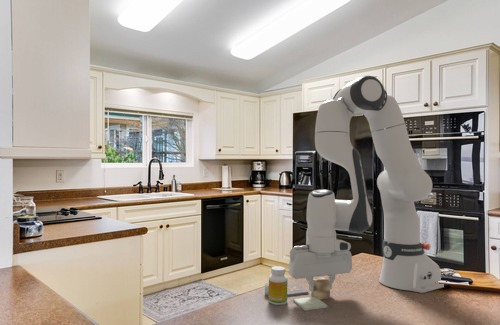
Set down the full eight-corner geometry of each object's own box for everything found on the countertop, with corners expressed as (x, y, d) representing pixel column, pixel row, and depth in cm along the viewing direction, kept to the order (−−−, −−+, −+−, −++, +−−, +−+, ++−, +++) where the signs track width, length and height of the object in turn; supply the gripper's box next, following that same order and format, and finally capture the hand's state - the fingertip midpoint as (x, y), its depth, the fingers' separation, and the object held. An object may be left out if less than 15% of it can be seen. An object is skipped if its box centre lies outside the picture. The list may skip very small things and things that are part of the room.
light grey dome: (277, 290, 112) (277, 281, 112) (284, 296, 107) (284, 286, 107) (262, 292, 110) (262, 282, 110) (268, 298, 105) (268, 288, 105)
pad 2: (314, 298, 105) (314, 296, 105) (327, 307, 99) (327, 305, 99) (293, 301, 103) (293, 298, 103) (304, 310, 96) (304, 308, 96)
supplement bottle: (286, 306, 99) (286, 271, 99) (267, 304, 100) (267, 270, 100) (288, 299, 105) (288, 266, 105) (269, 297, 106) (270, 264, 106)
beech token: (322, 293, 110) (323, 277, 110) (330, 298, 106) (330, 281, 106) (311, 294, 108) (311, 278, 108) (318, 299, 104) (318, 282, 104)
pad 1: (298, 286, 116) (298, 284, 116) (308, 293, 109) (308, 291, 109) (278, 288, 113) (278, 286, 113) (287, 296, 107) (287, 293, 107)
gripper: (295, 248, 101) (294, 297, 100) (355, 243, 108) (354, 289, 108) (285, 244, 106) (284, 290, 106) (343, 239, 114) (342, 282, 113)
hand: (320, 289), depth 107 cm, fingers closed on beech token, 4 cm apart
